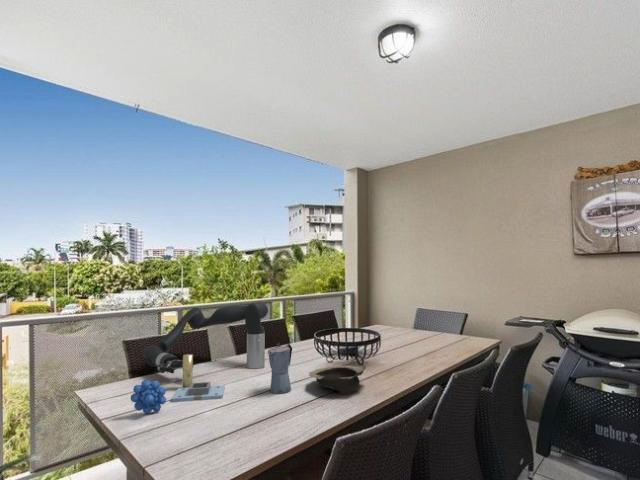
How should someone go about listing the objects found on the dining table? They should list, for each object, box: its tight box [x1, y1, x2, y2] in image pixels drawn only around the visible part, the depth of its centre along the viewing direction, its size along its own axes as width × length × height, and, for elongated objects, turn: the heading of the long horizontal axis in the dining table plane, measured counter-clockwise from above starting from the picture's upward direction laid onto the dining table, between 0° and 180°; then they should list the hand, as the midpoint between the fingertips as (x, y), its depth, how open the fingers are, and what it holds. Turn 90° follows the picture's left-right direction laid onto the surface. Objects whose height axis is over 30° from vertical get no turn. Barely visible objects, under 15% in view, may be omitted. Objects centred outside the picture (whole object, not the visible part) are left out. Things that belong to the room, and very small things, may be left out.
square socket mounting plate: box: [171, 381, 226, 403], centre depth 144 cm, size 19×12×4 cm, turn 101°
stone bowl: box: [308, 365, 366, 396], centre depth 152 cm, size 25×25×9 cm
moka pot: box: [267, 341, 293, 395], centre depth 150 cm, size 10×15×20 cm, turn 152°
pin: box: [181, 353, 194, 388], centre depth 152 cm, size 4×4×14 cm
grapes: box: [130, 379, 167, 415], centre depth 124 cm, size 12×7×12 cm, turn 120°
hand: (182, 368), depth 154 cm, fingers open, 8 cm apart
